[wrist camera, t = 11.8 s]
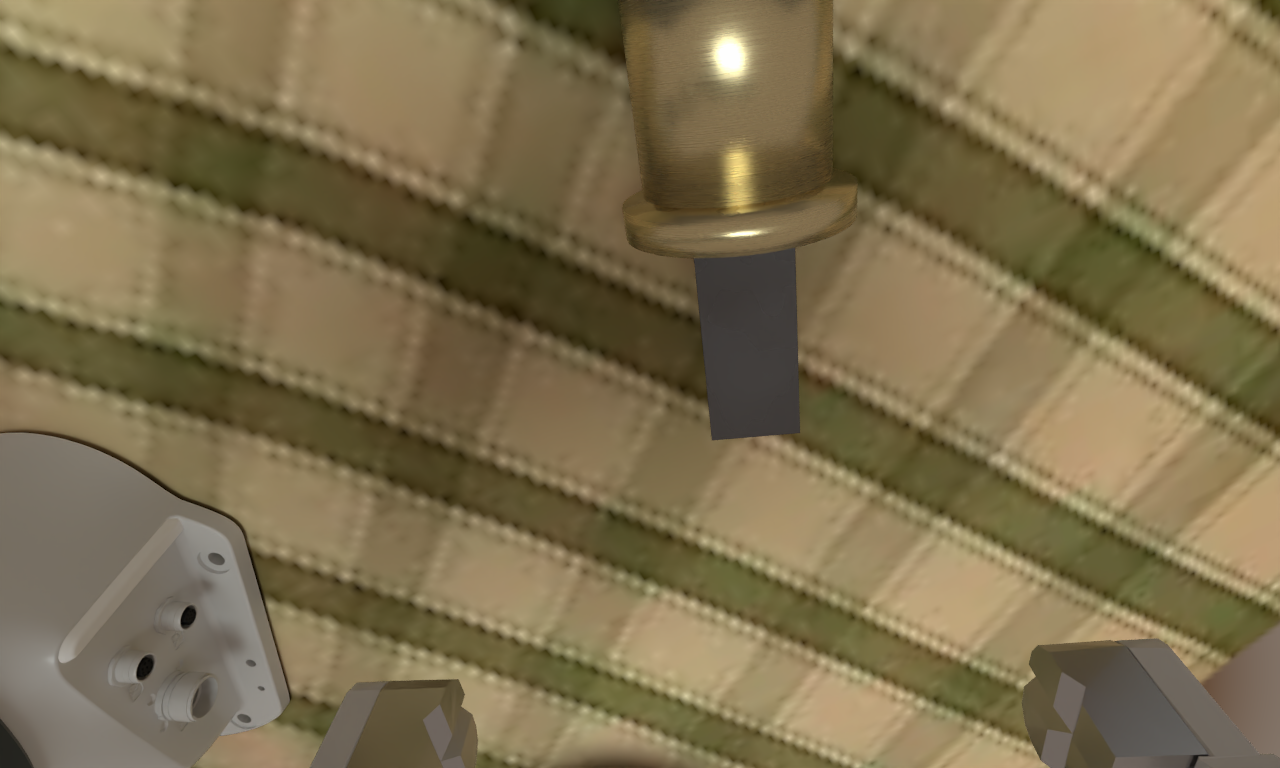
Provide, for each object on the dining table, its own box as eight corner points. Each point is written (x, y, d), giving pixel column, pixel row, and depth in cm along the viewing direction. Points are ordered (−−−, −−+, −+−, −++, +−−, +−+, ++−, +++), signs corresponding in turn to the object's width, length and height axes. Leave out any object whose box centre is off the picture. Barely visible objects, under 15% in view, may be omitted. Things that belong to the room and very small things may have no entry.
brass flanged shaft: (830, 359, 27) (877, 458, 21) (656, 375, 28) (650, 476, 21) (829, -88, 20) (900, -146, 14) (598, -49, 21) (562, -87, 15)
